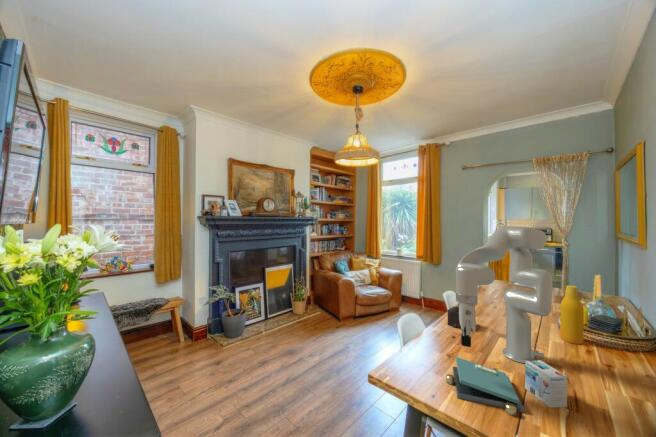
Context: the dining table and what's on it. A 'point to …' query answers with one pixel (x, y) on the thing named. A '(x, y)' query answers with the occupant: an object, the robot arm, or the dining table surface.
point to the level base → (482, 395)
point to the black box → (454, 317)
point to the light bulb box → (546, 383)
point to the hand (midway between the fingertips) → (465, 345)
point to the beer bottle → (572, 317)
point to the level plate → (486, 379)
